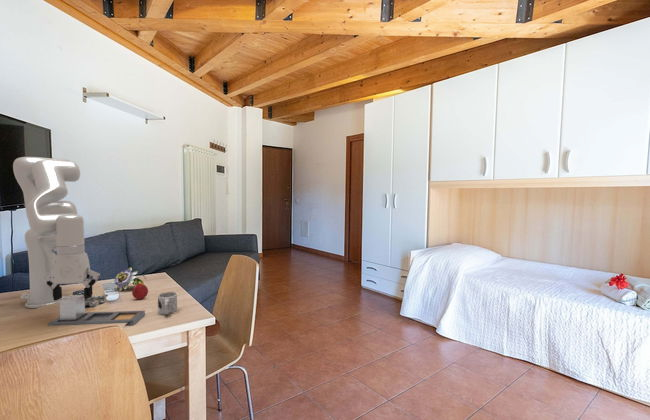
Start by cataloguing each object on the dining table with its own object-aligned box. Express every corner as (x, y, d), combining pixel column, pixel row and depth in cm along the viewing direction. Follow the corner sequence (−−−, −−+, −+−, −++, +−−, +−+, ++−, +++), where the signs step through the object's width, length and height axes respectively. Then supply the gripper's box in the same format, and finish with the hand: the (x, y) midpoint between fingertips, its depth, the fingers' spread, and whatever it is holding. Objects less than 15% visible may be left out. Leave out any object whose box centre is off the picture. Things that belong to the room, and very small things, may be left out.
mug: (159, 309, 124) (159, 292, 124) (177, 307, 126) (177, 291, 126) (155, 319, 115) (155, 301, 114) (175, 316, 117) (175, 299, 117)
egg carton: (109, 304, 129) (109, 294, 129) (92, 310, 122) (91, 300, 122) (90, 301, 132) (90, 291, 132) (71, 307, 125) (71, 297, 124)
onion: (151, 298, 136) (150, 280, 135) (142, 303, 130) (141, 284, 130) (138, 297, 136) (138, 279, 136) (129, 302, 131) (128, 283, 130)
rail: (48, 328, 105) (47, 323, 105) (66, 317, 114) (66, 313, 114) (133, 325, 109) (133, 320, 109) (144, 314, 118) (144, 310, 118)
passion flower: (121, 302, 145) (104, 282, 143) (137, 290, 155) (121, 272, 154) (138, 290, 143) (120, 270, 141) (153, 279, 153) (137, 260, 151)
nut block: (60, 322, 108) (59, 300, 107) (69, 316, 113) (69, 295, 112) (76, 322, 108) (75, 299, 108) (85, 316, 113) (84, 294, 113)
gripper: (35, 253, 104) (37, 303, 105) (91, 251, 106) (93, 300, 107) (51, 249, 111) (53, 296, 112) (104, 247, 114) (105, 294, 114)
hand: (73, 298), depth 110 cm, fingers open, 9 cm apart
